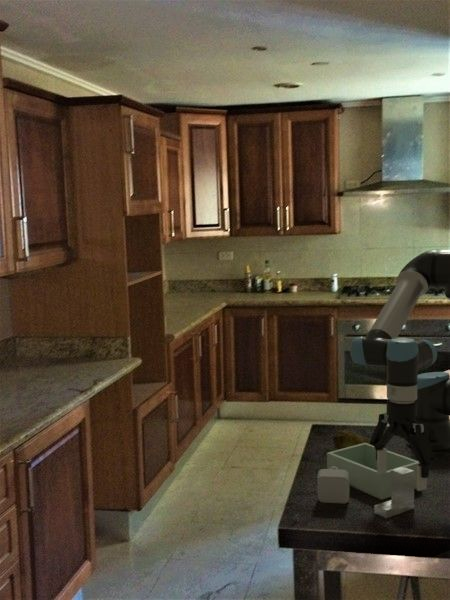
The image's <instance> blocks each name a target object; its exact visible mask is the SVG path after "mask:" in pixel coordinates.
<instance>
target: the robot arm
mask: <svg viewBox="0 0 450 600" xmlns="http://www.w3.org/2000/svg"><path fill="white" fill-rule="evenodd" d="M432 289H443V290H444V295H445V298H446V299H447V300H449V301H450V249H431V250H427V251H424V252H422V253H420V254H418V255H417V256H415V257H414V258H413V259H411V260H410V261H408V262H407V263H406V264H405V265H404V266H403V268H402V269H401V270H400V272H399V274H398V275H397V277H396V285H395V287H394V289H392V292H391V293H390V295H389V297H388V299H387V301H386V302H385V303H384V305H383V307H382V308H381V311H380V312H379V314H378V316H377V317H376V319H375V321H374V323H373V324H372V326H371V327H370V329H369V331H368V332H367V334H366V336H363V335H362V336H357V337H354V338H353V339H352V341H351V343H350V347H349V354H350V357H351V361H352V362H353V363H355V364H359V365H363V366H367V367H368V366H371V367H372V366H374V367H382V368H386V398H387V400H386V412H384V413H380V414H378V419H377V420H378V422H377V424H376V426H375V429H374V430H373V433H372V435H371V438H370V445H373V446H374V447H375V449H376V461H377V475H382V474H385V473H387V448H386V446H387V445H388V444H389V442H390V441H391V439H393V437H394V436H395V437H400V438H402V439H404V440H405V441H406V444H407V446H410V448H411V450H412V452H413V454H414V456H415V457H416V459H417V461H419V463H420V464H417V488H416V491H419V492H420V491H424V490H427V486H428V480H427V479H428V478H429V476H430V475H429V471H430V466H431V465H433V464H436V463H437V460H436V457H435V454H434V452H435V451H438V452H439V451H446V450H450V373H448V372H445V371H433V372H424V373H420V374H419V373H418V372H421V371H423V370H427V369H429V368H430V367H431V366H432V365H434V364H435V363H436V360H437V357H438V351H437V347H436V346H435V344H434V343H432V342H431V341H430V340H427V339H417V340H416V339H414V338H409V337H408V338H407V337H399V335H400V333H401V332H402V330H403V328H404V326H405V324H406V323H407V320H408V319H409V317H410V316H411V314H412V312H413V310H414V308H415V307H416V304H417V302H418V301H419V299H420V297H422V296H425V294H426V293H427V291H428V290H432ZM387 426H388V427H387Z"/></svg>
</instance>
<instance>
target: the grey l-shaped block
mask: <svg viewBox="0 0 450 600" xmlns="http://www.w3.org/2000/svg"><path fill="white" fill-rule="evenodd" d="M390 498H391V499H390V500H387V501H383V502H380V503H378V504H375V505H374V514H375V515H378V516H379V517H382V518H384V519H388V518H391V517H394V516H396V515H400V514H402V513H403V514H404V513H405V512H408V511H411V510H414V509H415V489H414V471H413V470H410V469H408V468H405V467H399V468H396V469H393V470H391V497H390Z"/></svg>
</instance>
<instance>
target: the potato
mask: <svg viewBox="0 0 450 600" xmlns="http://www.w3.org/2000/svg"><path fill="white" fill-rule="evenodd" d="M370 440H371V438H367V437H365V436H363V435H360V434H357V433H355V432H353V431H351V430H347V429H346V430H345V429H343V430H339V431H336V432H334V435H333V437H332V442H333V445H334V448H335V449H336V450H339V449H343V448H347V447H351V446H355V445H358V444H362V443H368V444H370Z"/></svg>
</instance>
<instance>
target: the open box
mask: <svg viewBox="0 0 450 600" xmlns="http://www.w3.org/2000/svg"><path fill="white" fill-rule="evenodd" d="M417 464H420V463H419V461H418V460H416V459H413V458H410V457H407V456H404V455H402V454H398V453H396V452H393V451H391V450H387V473H385V474H382V475H377V461H376V449H375V447H374V446H373V445H370V444H368V443H362V444H358V445H355V446H351V447H347V448H343V449H339V450H338V449H335V450H332V451H329V452H326V469H330V468H331V467H333V466H335V467H337V468H338V469H339V470H346V471H347V472H348V473H349V487H351V488H354V489H355V490H358V491H360V492H363V493H365V494H367V495H370V496H372V497H375V498H377V499H379V500H386V499H389V498H391V470H393V469H396V468H399V467H405V468H408V469H410V470H413V471H414V490H417Z"/></svg>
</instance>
